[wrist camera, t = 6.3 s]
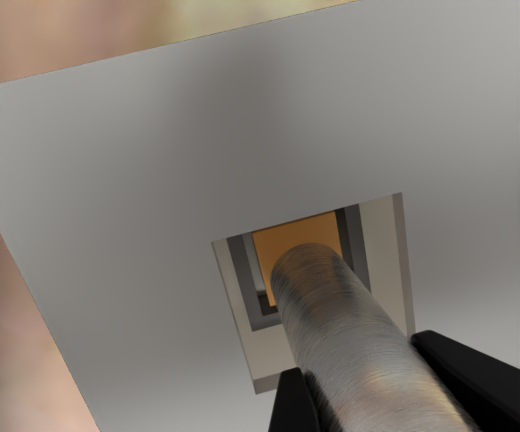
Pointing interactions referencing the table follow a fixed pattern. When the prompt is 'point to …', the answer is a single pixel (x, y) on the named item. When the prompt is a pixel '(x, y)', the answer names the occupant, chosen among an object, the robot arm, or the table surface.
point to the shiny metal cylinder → (356, 352)
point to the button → (293, 241)
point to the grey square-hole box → (264, 197)
